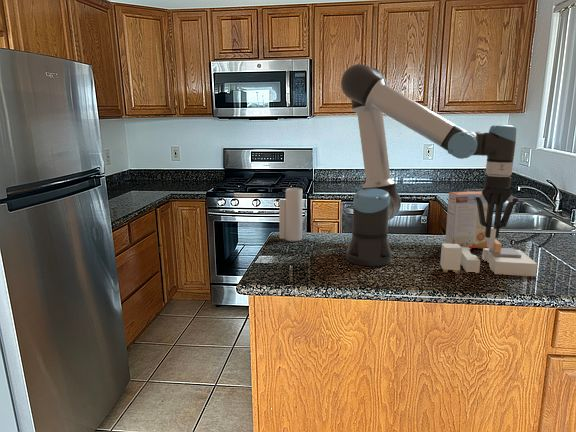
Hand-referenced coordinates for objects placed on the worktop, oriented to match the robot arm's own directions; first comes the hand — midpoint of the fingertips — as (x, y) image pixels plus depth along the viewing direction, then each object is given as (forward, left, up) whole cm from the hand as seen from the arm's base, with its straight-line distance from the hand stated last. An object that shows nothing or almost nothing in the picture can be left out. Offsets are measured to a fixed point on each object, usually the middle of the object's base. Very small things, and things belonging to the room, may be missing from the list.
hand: (490, 247), depth 141 cm
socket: (+1, -2, -6) cm, 6 cm away
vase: (-70, +21, -6) cm, 73 cm away
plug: (-14, -9, -6) cm, 18 cm away
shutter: (+5, 0, -2) cm, 5 cm away
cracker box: (-3, +20, -6) cm, 21 cm away
